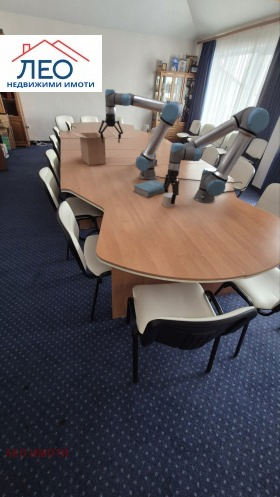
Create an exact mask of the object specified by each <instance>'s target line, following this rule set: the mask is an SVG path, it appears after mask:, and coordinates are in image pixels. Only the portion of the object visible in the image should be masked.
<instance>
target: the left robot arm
mask: <svg viewBox="0 0 280 497" xmlns="http://www.w3.org/2000/svg"><path fill="white" fill-rule="evenodd" d="M104 100H105V120H104V119H101V124H100V126H99V128H98V131H97V132H99V133H100V134H101V138H102V143H103V134H102V133H103V132H105V130H106V129H107V128H109V127H110V128H113V127H114V129H115V130H116V131H117V133H118V134H117V140H118V141H117V143H118V144H120V143H121V142H120V140H121V139H122V135H123V134H124V131H123V129H122V127H121V125H120V120H116V106H121V107H122V106H123V107H129V106H130V107H136V108H139V109H144V110H148V111H151V112H155V113H160V116H159V122H158V124H157V126H156V128H155V130H154V131H153V134H152V136H151V138H150V139H149V142H148V144H147V145H146V146H145V149H144V150H141V153H140V154H139V156H137V157H138V158H137V157H136V159H137V160H136V159H135V167H136V168H137V170H138V171H140V172H139V178H140V179H142V180H146V181H150V180H156V178H160V179H165V178H166V176H165V177H162V176H158V175H157V174H156V169H155V167H156V165H155V160H157V159H156V158H157V151H158V150H159V148H160V146H161V145H162V143H163V140H164V138H165V137H166V135H167V133H168V132H169V130H170V128H173V127H174V125H175V123H176V122H177V120H178V119H180V117H181V116H182V115H183V105H182V104H181V103H180V102H178V101H170V100H166V101H163V100H158V99H154V98H150V97H146V96H142V95H138V94H134V93H132V92H128V93H122V92H121V93H120V92H119V93H118V92H116V90H115V89H113V88H111V89H110V88H106V89H105V90H104ZM104 124H105V125H104ZM116 125H117V126H118V127H117V126H116ZM177 180H185V181H196V182H200V181H201V179H192V178H191V179H190V178H182V177H177ZM228 183H233V184H237V183H240V184H242V185H243V182H242V181H227V182H226V184H228Z"/></svg>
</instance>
